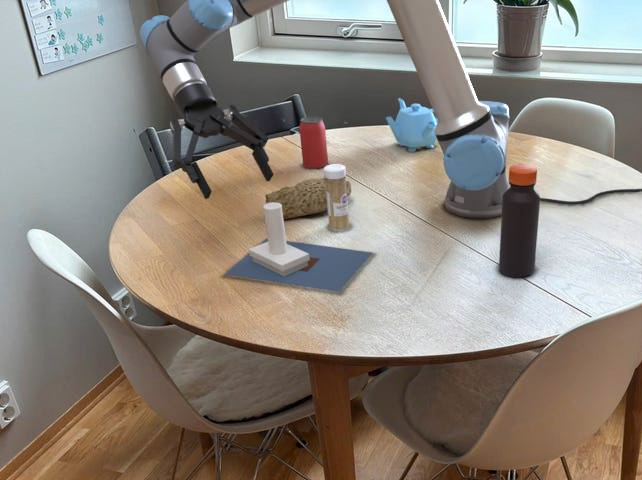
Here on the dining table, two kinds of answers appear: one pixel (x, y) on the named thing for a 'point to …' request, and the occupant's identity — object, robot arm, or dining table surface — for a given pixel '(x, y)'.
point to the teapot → (414, 126)
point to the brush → (278, 245)
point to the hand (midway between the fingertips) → (240, 186)
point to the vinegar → (519, 223)
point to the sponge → (303, 198)
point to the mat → (309, 267)
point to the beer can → (313, 142)
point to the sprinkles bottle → (336, 196)
